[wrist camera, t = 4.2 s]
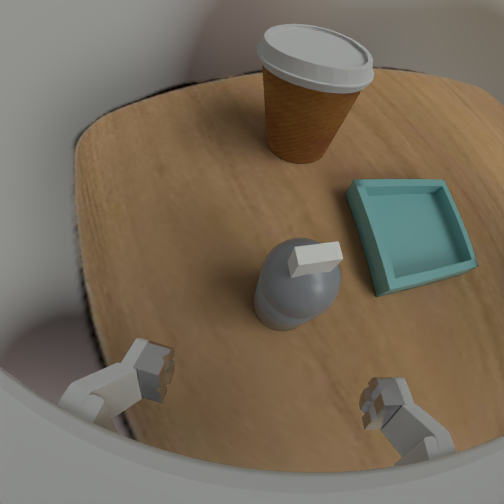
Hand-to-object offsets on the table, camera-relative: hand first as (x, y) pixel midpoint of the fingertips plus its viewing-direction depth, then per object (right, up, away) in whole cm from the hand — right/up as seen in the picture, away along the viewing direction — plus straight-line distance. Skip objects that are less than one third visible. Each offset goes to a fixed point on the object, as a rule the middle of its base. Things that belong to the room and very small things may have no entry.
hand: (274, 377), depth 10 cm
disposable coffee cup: (+4, +16, +17) cm, 24 cm away
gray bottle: (+1, +1, +11) cm, 11 cm away
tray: (+15, +7, +14) cm, 21 cm away
